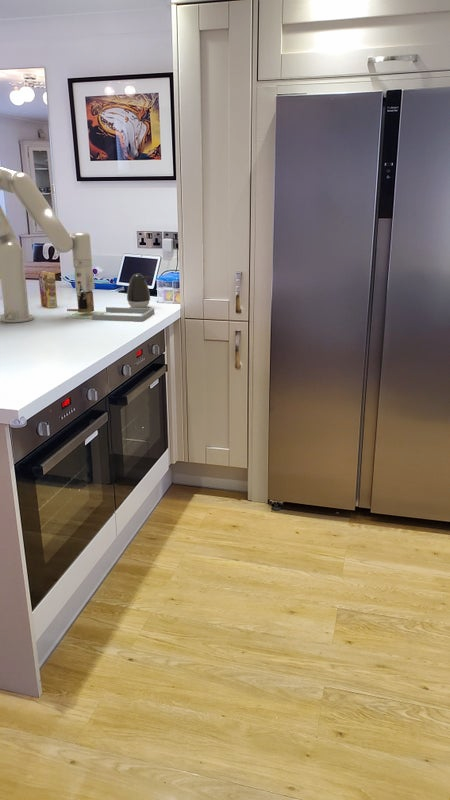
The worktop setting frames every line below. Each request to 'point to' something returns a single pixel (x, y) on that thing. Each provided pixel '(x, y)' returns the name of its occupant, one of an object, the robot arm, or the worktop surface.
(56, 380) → the worktop surface
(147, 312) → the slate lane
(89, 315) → the mat
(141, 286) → the dark grey tall ovoid
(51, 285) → the candy box
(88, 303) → the walnut block
